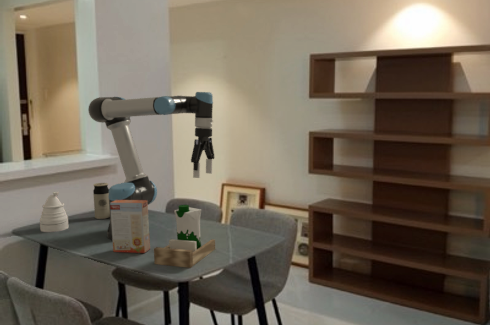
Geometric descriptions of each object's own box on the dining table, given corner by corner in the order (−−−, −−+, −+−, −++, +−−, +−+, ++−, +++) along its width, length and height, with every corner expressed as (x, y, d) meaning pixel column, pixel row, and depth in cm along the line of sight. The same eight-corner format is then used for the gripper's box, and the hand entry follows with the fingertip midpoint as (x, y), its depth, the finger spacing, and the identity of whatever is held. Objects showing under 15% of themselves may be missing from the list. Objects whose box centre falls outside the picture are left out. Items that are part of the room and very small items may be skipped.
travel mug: (96, 216, 265) (94, 183, 263) (111, 215, 266) (109, 182, 264) (93, 219, 258) (91, 185, 255) (109, 218, 258) (107, 184, 256)
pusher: (169, 256, 193) (169, 240, 192) (171, 255, 195) (170, 239, 194) (195, 259, 189) (194, 242, 189) (197, 258, 191) (196, 241, 190)
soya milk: (173, 254, 197) (171, 205, 194) (190, 249, 203) (188, 201, 201) (188, 259, 191) (186, 208, 188) (205, 253, 197) (203, 204, 195)
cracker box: (150, 249, 205) (148, 199, 202) (144, 253, 199) (141, 202, 196) (119, 247, 208) (116, 198, 205) (112, 252, 202) (109, 202, 199)
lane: (154, 264, 186) (153, 248, 185) (182, 246, 208) (181, 232, 207) (190, 267, 181) (189, 251, 180) (215, 249, 202) (214, 234, 202)
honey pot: (73, 225, 248) (70, 189, 245) (61, 232, 235) (58, 194, 233) (48, 225, 249) (45, 189, 247) (35, 232, 236) (32, 195, 234)
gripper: (199, 129, 204) (199, 180, 207) (222, 126, 227) (221, 172, 230) (183, 128, 206) (182, 178, 209) (207, 125, 230) (206, 171, 233)
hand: (202, 175), depth 220 cm, fingers open, 13 cm apart
